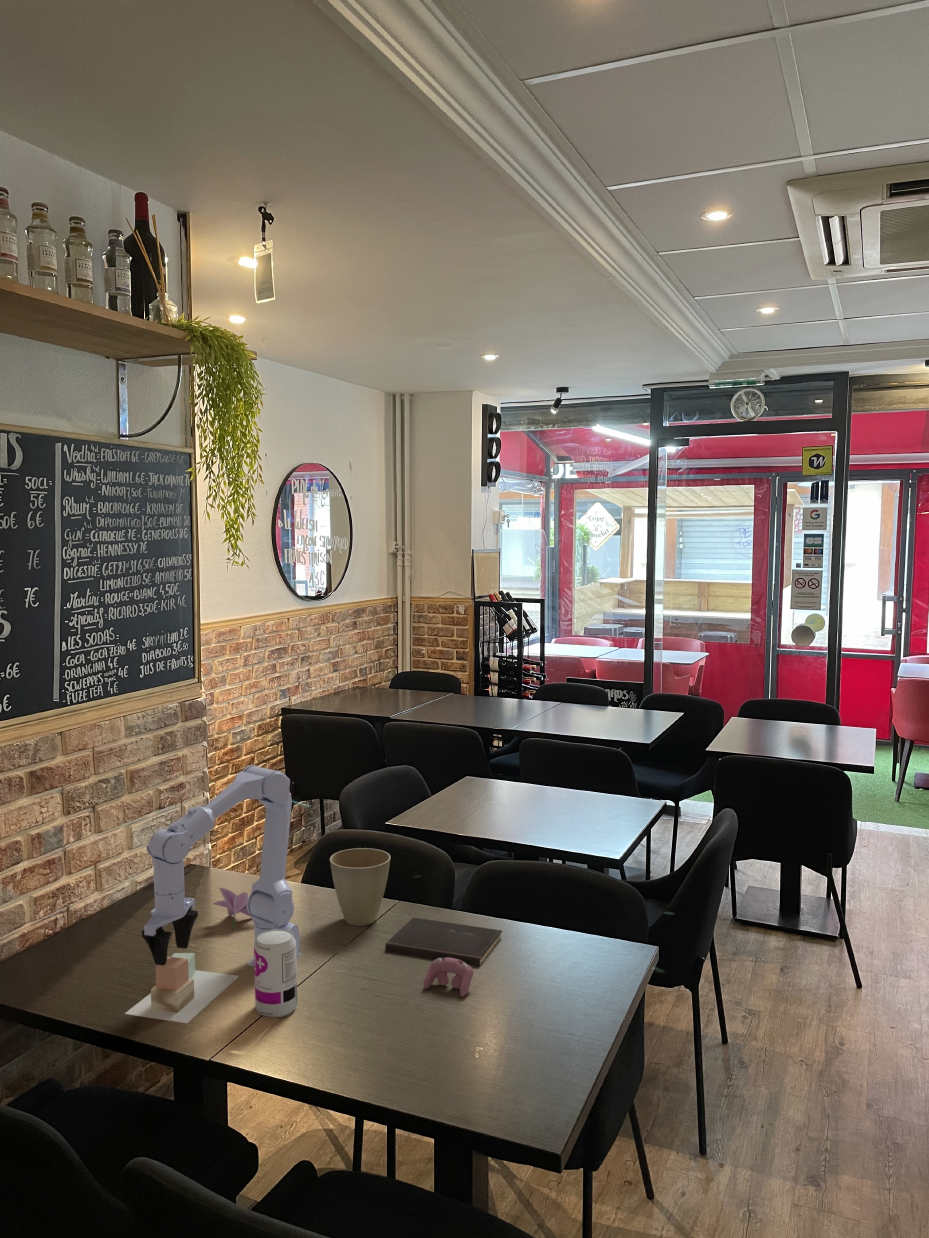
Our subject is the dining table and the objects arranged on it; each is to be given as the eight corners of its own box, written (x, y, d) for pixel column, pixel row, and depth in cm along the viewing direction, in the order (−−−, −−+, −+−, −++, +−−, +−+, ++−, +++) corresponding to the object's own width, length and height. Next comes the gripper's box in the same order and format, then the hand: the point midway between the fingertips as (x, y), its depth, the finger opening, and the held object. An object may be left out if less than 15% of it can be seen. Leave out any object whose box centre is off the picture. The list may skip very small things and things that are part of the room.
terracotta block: (188, 980, 183) (187, 958, 183) (176, 990, 179) (175, 968, 178) (169, 977, 184) (168, 956, 184) (156, 988, 180) (155, 966, 179)
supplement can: (261, 1023, 174) (260, 948, 173) (251, 1004, 182) (249, 932, 181) (302, 1013, 178) (301, 940, 177) (290, 995, 185) (288, 924, 184)
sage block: (195, 973, 195) (194, 952, 194) (188, 982, 190) (188, 962, 190) (174, 973, 195) (174, 952, 194) (167, 982, 190) (167, 962, 190)
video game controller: (471, 998, 187) (477, 962, 190) (463, 997, 183) (469, 961, 186) (429, 988, 191) (435, 954, 194) (420, 988, 187) (427, 952, 190)
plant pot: (371, 937, 213) (370, 871, 212) (319, 926, 220) (317, 862, 218) (402, 913, 227) (401, 852, 225) (352, 904, 233) (351, 844, 232)
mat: (239, 977, 193) (239, 975, 193) (186, 1024, 174) (186, 1022, 174) (182, 969, 197) (182, 968, 197) (124, 1015, 178) (124, 1013, 178)
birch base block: (194, 998, 184) (193, 979, 183) (177, 1012, 178) (177, 993, 178) (168, 994, 185) (168, 975, 185) (151, 1008, 180) (150, 989, 179)
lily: (271, 929, 221) (272, 888, 225) (235, 925, 212) (237, 884, 216) (236, 934, 226) (238, 895, 231) (200, 931, 217) (202, 890, 221)
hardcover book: (413, 926, 221) (413, 917, 221) (502, 939, 213) (502, 930, 213) (385, 953, 206) (385, 943, 206) (479, 969, 198) (479, 959, 198)
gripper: (172, 875, 188) (174, 938, 189) (129, 901, 174) (132, 969, 175) (202, 878, 186) (204, 942, 187) (161, 905, 172) (163, 973, 173)
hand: (171, 955), depth 181 cm, fingers open, 7 cm apart
